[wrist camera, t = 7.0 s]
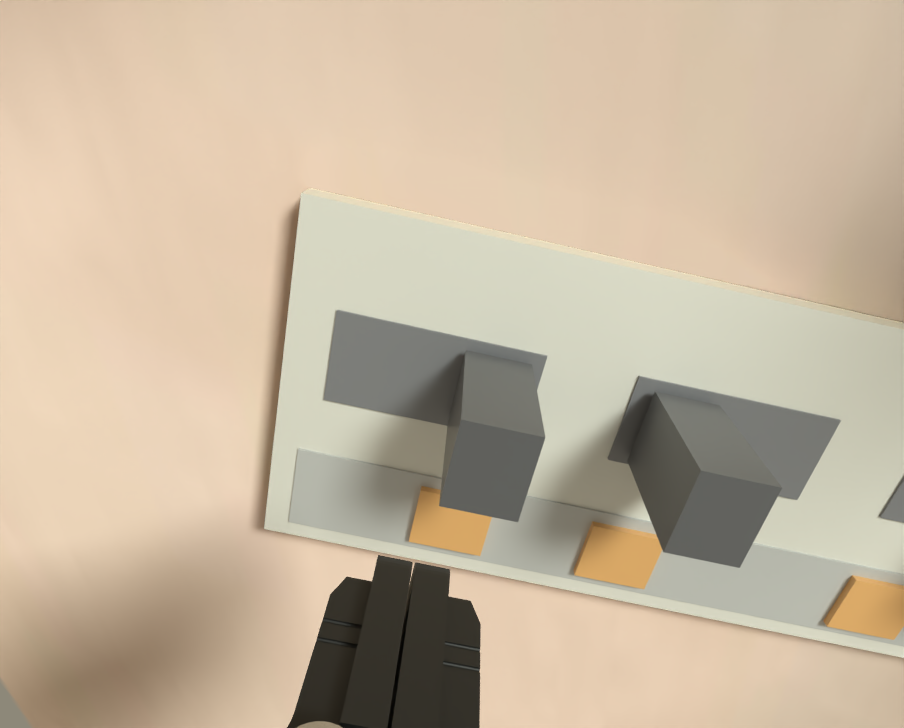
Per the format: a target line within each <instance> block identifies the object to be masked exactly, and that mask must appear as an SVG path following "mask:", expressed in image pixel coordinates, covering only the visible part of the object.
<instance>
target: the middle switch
mask: <svg viewBox="0 0 904 728" xmlns="http://www.w3.org/2000/svg"><path fill="white" fill-rule="evenodd" d="M628 464H629V466H630V469H631V471H632V474H633V477H634V479H635V482H636V484H637V487H638V489H639V492H640V494H641V497H642V499H643V502H644V504H645V507H646V510H647V512H648V515H649V517H650V520H651V522H652V525H653V527H654V530H655V532H656V535H657V537H658V540H659V542H660V545H661V548H662V550H663V552H664V553H669V554H674V555H679V556H684V557H688V558H693V559H698V560H703V561H708V562H713V563H718V564H722V565H727V566H732V567H737V568H740V567H741V565H742V563H743V561H744V559H745V557H746V555H747V553H748V551H749V550H750V548H751V546H752V544H753V542H754V540H755V538H756V536H757V535H758V533H759V531H760V529H761V527H762V525H763V523H764V521H765V520H766V518H767V516H768V514H769V512H770V510H771V508H772V506H773V505H774V503H775V501H776V499H777V497H778V495H779V493H780V491H781V489H782V487H781V485H780V484H779V483H778V481H777V480H776V479H775V478H774V476H773V475H772V474H771V472H770V471H769V470H768V468H767V467H766V466H765V464H764V463H763V462H762V460H761V459H760V458H759V457H758V455H757V454H756V453H755V451H754V450H753V449H752V447H751V446H750V445H749V443H748V442H747V441H746V439H745V438H744V437H743V436H742V434H741V433H740V432H739V430H738V429H737V428H736V426H735V425H734V424H733V422H732V421H731V420H730V418H729V417H728V416H727V414H726V413H725V412H724V411H723V409H722V408H721V407H720V405H716V404H711V403H706V402H702V401H697V400H693V399H688V398H683V397H679V396H674V395H670V394H665V393H661V392H656V391H655V392H654V395H653V398H652V400H651V403H650V405H649V408H648V410H647V413H646V415H645V418H644V420H643V423H642V425H641V428H640V430H639V433H638V435H637V438H636V440H635V443H634V445H633V448H632V450H631V453H630V456H629V458H628Z"/></svg>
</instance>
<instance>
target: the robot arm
mask: <svg viewBox="0 0 904 728" xmlns="http://www.w3.org/2000/svg"><path fill="white" fill-rule="evenodd" d="M411 570H412V562H410V561H405V560H400V559H395V558H390V557H385V556H380V555H378V559H377V563H376V567H375V572H374V576H373V580H372V582H371V581H366V580H361V579H356V578H351V577H346V578H345V579H344V580H343V581H342V583H341V584H340V585H339V586H338V587H337V588H336V589H335V590H334V591H333V592H332V593H331V594H330V598H329V601H328V604H327V607H326V611H325V614H324V617H323V621H322V624H321V627H320V630H319V634H318V637H317V641H316V643H315V647H314V650H313V653H312V656H311V660H310V663H309V666H308V670H307V673H306V676H305V679H304V683H303V686H302V689H301V692H300V696H299V699H298V702H297V705H296V709H295V712H294V715H293V717H292V720H291V722H290V724H289V725H288V727H287V728H479V710H480V673H479V670H480V622H479V619H478V617H477V615H476V612H475V610H474V608H473V605H472V603H471V601H468V600H463V599H458V598H453V597H448V594H449V580H450V569H446V568H441V567H436V566H431V565H426V564H421V563H415V565H414V569H413V573H412V577H411ZM410 577H411V581H410ZM409 583H410V585H409Z"/></svg>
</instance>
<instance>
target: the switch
mask: <svg viewBox="0 0 904 728" xmlns="http://www.w3.org/2000/svg"><path fill="white" fill-rule="evenodd" d="M544 441H545V432H544V427H543V421H542V416H541V410H540V405H539V399H538V394H537V388H536V383H535V377H534V372H533V367H532V364H527V363H523V362H518V361H514V360H509V359H505V358H500V357H495V356H491V355H486V354H482V353H477V352H472V351H468V350H466V351H465V355H464V359H463V363H462V367H461V371H460V375H459V379H458V383H457V388H456V392H455V396H454V400H453V404H452V408H451V412H450V416H449V420H448V426H447V436H446V445H445V454H444V464H443V473H442V483H441V492H440V502H439V506H441V507H446V508H450V509H455V510H460V511H465V512H470V513H475V514H480V515H484V516H489V517H494V518H499V519H504V520H509V521H514V522H518V521H519V518H520V514H521V511H522V508H523V505H524V502H525V499H526V496H527V493H528V490H529V487H530V484H531V481H532V477H533V474H534V471H535V468H536V465H537V462H538V459H539V456H540V453H541V450H542V447H543V444H544Z"/></svg>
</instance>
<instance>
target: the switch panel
mask: <svg viewBox="0 0 904 728" xmlns="http://www.w3.org/2000/svg"><path fill="white" fill-rule="evenodd" d="M466 350H468V351H472V352H477V353H482V354H486V355H491V356H495V357H500V358H505V359H509V360H514V361H518V362H523V363H527V364H532V367H533V372H534V377H535V383H536V388H537V394H538V399H539V405H540V410H541V416H542V421H543V427H544V432H545V441H544V444H543V447H542V450H541V453H540V456H539V459H538V462H537V465H536V468H535V471H534V474H533V477H532V481H531V484H530V487H529V490H528V493H527V496H526V499H525V502H524V505H523V508H522V511H521V514H520V518H519V521H518V522H514V521H509V520H504V519H499V518H494V517H489V516H484V515H480V514H475V513H470V512H465V511H460V510H455V509H450V508H446V507H441V506H439V502H440V492H441V483H442V473H443V464H444V454H445V445H446V436H447V426H448V420H449V416H450V412H451V408H452V404H453V400H454V396H455V392H456V388H457V383H458V379H459V375H460V371H461V367H462V363H463V359H464V355H465V351H466ZM655 391H656V392H661V393H665V394H670V395H674V396H679V397H683V398H688V399H693V400H697V401H702V402H706V403H711V404H716V405H720V407H721V408H722V409H723V411H724V412H725V413H726V414H727V416H728V417H729V418H730V420H731V421H732V422H733V424H734V425H735V426H736V428H737V429H738V430H739V432H740V433H741V434H742V436H743V437H744V438H745V439H746V441H747V442H748V443H749V445H750V446H751V447H752V449H753V450H754V451H755V453H756V454H757V455H758V457H759V458H760V459H761V460H762V462H763V463H764V464H765V466H766V467H767V468H768V470H769V471H770V472H771V474H772V475H773V476H774V478H775V479H776V480H777V481H778V483H779V484H780V485H781V487H782V489H781V491H780V493H779V495H778V497H777V499H776V501H775V503H774V505H773V506H772V508H771V510H770V512H769V514H768V516H767V518H766V520H765V521H764V523H763V525H762V527H761V529H760V531H759V533H758V535H757V536H756V538H755V540H754V542H753V544H752V546H751V548H750V550H749V551H748V553H747V555H746V557H745V559H744V561H743V563H742V565H741V567H740V568H737V567H732V566H727V565H722V564H718V563H713V562H708V561H703V560H698V559H693V558H688V557H684V556H679V555H674V554H669V553H664V552H663V550H662V548H661V545H660V542H659V540H658V537H657V535H656V532H655V530H654V527H653V525H652V522H651V520H650V517H649V515H648V512H647V510H646V507H645V504H644V502H643V499H642V497H641V494H640V492H639V489H638V487H637V484H636V482H635V479H634V477H633V474H632V471H631V469H630V466H629V464H628V458H629V456H630V453H631V450H632V448H633V445H634V443H635V440H636V438H637V435H638V433H639V430H640V428H641V425H642V423H643V420H644V418H645V415H646V413H647V410H648V408H649V405H650V403H651V400H652V398H653V395H654V392H655ZM264 529H267V530H272V531H277V532H282V533H287V534H292V535H297V536H302V537H307V538H312V539H316V540H321V541H326V542H331V543H336V544H341V545H346V546H351V547H356V548H361V549H366V550H371V551H376V552H381V553H386V554H391V555H396V556H401V557H406V558H411V559H416V560H421V561H426V562H431V563H436V564H441V565H445V566H450V567H455V568H460V569H465V570H470V571H475V572H480V573H485V574H490V575H495V576H500V577H505V578H510V579H515V580H520V581H525V582H530V583H535V584H540V585H545V586H550V587H555V588H560V589H565V590H570V591H574V592H579V593H584V594H589V595H594V596H599V597H604V598H609V599H614V600H619V601H624V602H629V603H634V604H639V605H644V606H649V607H654V608H659V609H664V610H669V611H674V612H679V613H684V614H689V615H694V616H699V617H703V618H708V619H713V620H718V621H723V622H728V623H733V624H738V625H743V626H748V627H753V628H758V629H763V630H768V631H773V632H778V633H783V634H788V635H793V636H798V637H803V638H808V639H813V640H818V641H823V642H828V643H832V644H837V645H842V646H847V647H852V648H857V649H862V650H867V651H872V652H877V653H882V654H887V655H892V656H897V657H902V658H904V323H903V322H899V321H894V320H890V319H885V318H881V317H877V316H872V315H868V314H863V313H859V312H855V311H850V310H846V309H841V308H837V307H833V306H828V305H824V304H819V303H815V302H811V301H806V300H802V299H797V298H793V297H789V296H784V295H780V294H775V293H771V292H767V291H762V290H758V289H754V288H749V287H745V286H740V285H736V284H732V283H727V282H723V281H718V280H714V279H710V278H705V277H701V276H696V275H692V274H688V273H683V272H679V271H674V270H670V269H666V268H661V267H657V266H652V265H648V264H644V263H639V262H635V261H630V260H626V259H622V258H617V257H613V256H608V255H604V254H600V253H595V252H591V251H586V250H582V249H578V248H573V247H569V246H564V245H560V244H556V243H551V242H547V241H542V240H538V239H534V238H529V237H525V236H520V235H516V234H512V233H507V232H503V231H499V230H494V229H490V228H485V227H481V226H477V225H472V224H468V223H463V222H459V221H455V220H450V219H446V218H441V217H437V216H433V215H428V214H424V213H419V212H415V211H411V210H406V209H402V208H397V207H393V206H389V205H384V204H380V203H375V202H371V201H367V200H362V199H358V198H353V197H349V196H345V195H340V194H336V193H331V192H327V191H323V190H318V189H314V188H309V189H308V190H306V191H304V192H302V193H301V199H300V208H299V217H298V227H297V236H296V245H295V254H294V263H293V272H292V281H291V290H290V299H289V308H288V317H287V326H286V335H285V344H284V353H283V362H282V371H281V380H280V389H279V398H278V407H277V416H276V425H275V434H274V443H273V452H272V461H271V470H270V479H269V488H268V497H267V506H266V515H265V524H264Z"/></svg>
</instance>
